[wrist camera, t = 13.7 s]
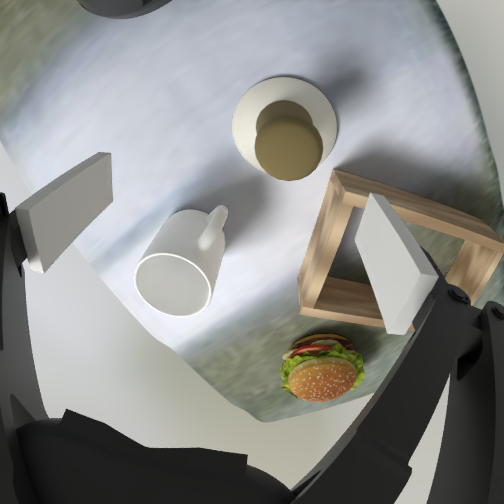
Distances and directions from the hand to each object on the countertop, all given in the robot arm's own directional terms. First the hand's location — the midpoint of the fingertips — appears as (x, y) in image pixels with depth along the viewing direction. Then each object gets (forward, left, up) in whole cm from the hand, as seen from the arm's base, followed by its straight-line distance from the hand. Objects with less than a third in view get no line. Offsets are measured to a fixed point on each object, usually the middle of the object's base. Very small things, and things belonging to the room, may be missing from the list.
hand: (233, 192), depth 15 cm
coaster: (-1, +3, -19) cm, 20 cm away
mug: (+13, -4, -20) cm, 24 cm away
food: (+33, +18, -20) cm, 43 cm away
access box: (+10, +21, -19) cm, 30 cm away
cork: (-1, +3, -19) cm, 19 cm away
